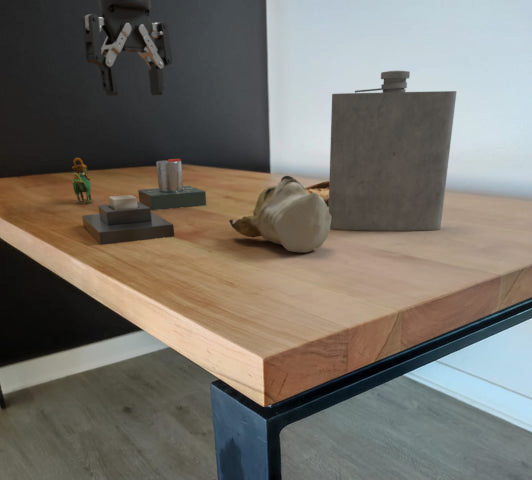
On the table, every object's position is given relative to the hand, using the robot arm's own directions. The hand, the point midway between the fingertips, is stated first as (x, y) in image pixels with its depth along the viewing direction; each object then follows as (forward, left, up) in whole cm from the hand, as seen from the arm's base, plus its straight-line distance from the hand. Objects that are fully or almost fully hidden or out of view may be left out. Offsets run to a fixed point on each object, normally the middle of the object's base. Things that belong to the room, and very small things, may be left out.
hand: (135, 95), depth 86 cm
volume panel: (+6, +5, -18) cm, 20 cm away
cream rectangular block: (-7, -15, -15) cm, 22 cm away
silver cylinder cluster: (+6, +5, -16) cm, 17 cm away
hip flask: (+26, -32, -18) cm, 45 cm away
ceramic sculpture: (+9, -34, -18) cm, 39 cm away
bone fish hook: (+27, -9, -18) cm, 34 cm away
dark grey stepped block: (-7, -15, -18) cm, 24 cm away
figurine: (-8, +16, -18) cm, 26 cm away
